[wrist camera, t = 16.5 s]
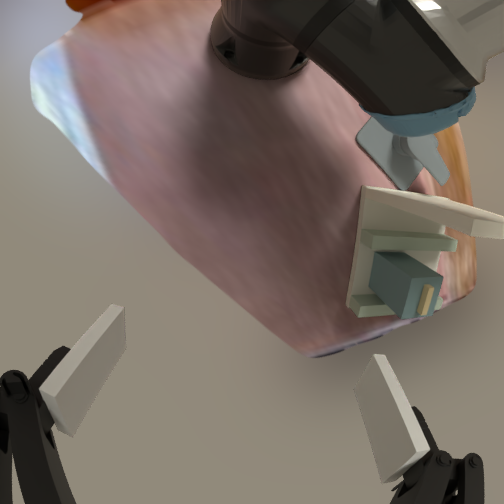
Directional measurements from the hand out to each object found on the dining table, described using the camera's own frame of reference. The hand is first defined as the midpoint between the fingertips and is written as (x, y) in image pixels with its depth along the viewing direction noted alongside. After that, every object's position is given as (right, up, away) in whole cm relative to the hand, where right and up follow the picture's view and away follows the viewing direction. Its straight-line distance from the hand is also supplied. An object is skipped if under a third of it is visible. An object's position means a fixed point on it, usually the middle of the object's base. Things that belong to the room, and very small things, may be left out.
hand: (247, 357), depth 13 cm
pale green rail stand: (+26, +6, +30) cm, 40 cm away
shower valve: (+25, +23, +26) cm, 42 cm away
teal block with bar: (+22, +2, +30) cm, 37 cm away
